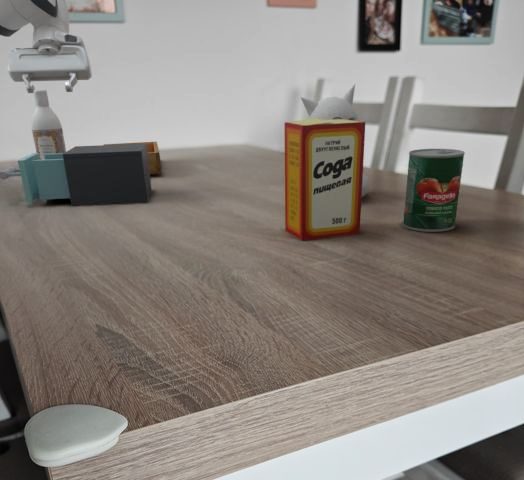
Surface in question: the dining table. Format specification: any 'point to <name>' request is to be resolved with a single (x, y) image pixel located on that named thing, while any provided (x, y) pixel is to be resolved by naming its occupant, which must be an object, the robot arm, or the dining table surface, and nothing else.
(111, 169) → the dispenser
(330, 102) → the decorative figurine
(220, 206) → the dining table surface
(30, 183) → the drawer
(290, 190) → the baking soda box
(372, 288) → the dining table surface
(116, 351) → the dining table surface
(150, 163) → the tray
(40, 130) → the bath foam
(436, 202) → the canned tomato
